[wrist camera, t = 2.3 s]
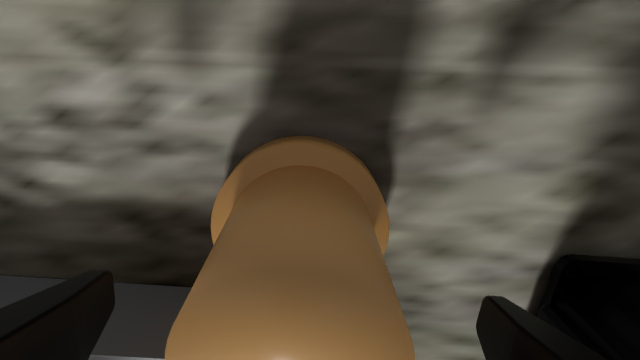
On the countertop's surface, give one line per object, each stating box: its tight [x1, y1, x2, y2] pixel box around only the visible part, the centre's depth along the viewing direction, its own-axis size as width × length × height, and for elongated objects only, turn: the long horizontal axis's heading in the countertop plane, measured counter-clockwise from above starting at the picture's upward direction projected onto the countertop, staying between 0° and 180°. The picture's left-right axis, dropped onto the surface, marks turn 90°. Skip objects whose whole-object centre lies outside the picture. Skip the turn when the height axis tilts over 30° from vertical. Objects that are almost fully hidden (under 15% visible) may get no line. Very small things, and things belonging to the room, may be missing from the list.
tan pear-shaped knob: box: [165, 136, 415, 360], centre depth 10 cm, size 6×6×7 cm
